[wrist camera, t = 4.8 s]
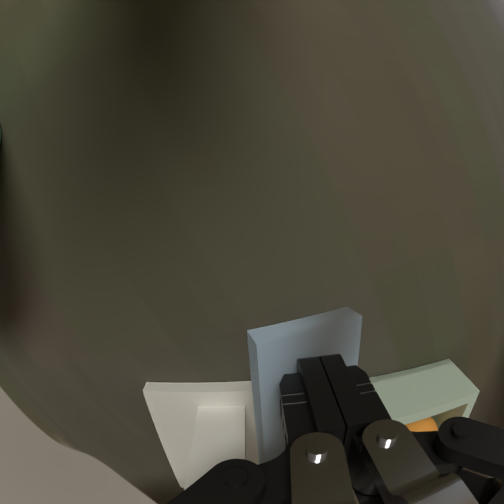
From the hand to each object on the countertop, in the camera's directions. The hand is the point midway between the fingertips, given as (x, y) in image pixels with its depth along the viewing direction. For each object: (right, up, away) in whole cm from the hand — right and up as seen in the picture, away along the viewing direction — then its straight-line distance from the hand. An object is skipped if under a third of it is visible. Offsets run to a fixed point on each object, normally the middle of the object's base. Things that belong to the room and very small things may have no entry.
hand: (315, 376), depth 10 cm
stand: (-4, -10, +10) cm, 14 cm away
